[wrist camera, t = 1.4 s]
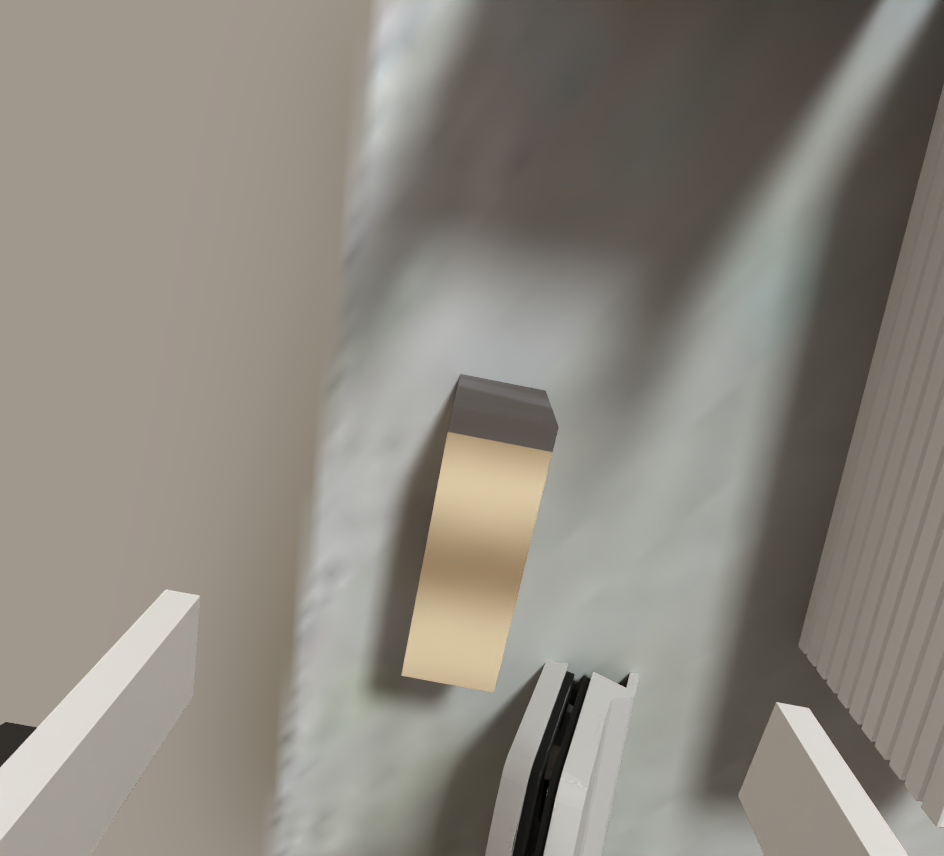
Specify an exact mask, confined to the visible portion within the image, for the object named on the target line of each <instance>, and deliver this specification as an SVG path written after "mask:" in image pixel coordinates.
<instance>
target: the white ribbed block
mask: <svg viewBox="0 0 944 856" xmlns="http://www.w3.org/2000/svg"><path fill="white" fill-rule="evenodd" d="M798 646H799V648H800V649H801V650H802V652H803V653H804V654H807V658H808V660H809V661H810V662H811V663H812V665H813V666H815V667H817V669H816V670H817V671H818V673H819V674H820V675H821V677H822V678H823V679H824V680H827V684H828V686H829V687H830V688H831V690H832V691H833V692H834V694H838V697H837V698H838V699H839V700H840V702H841V703H842V704H843V705H844V707H845V708H846V709H850V711H849V713H850V715H851V716H852V717H853V719H854V720H855V721H856V723H857V724H859V725H862V728H861V729H862V730H863V732H864V733H865V734H866V736H867V737H868V738H869V740H870V741H871V742H876V744H875V747H876V749H877V750H878V751H879V753H880V754H881V755H882V757H883V758H884V759H885V760H890V763H889V766H890V767H891V768H892V770H893V771H894V772H895V774H896V775H897V776H898V778H899V779H900V780H906V782H905V787H906V788H907V789H908V791H909V792H910V793H911V795H912V796H913V797H914V799H915V800H916V801H923V803H922V805H921V808H922V809H923V810H924V812H925V813H926V814H927V816H928V817H929V818H930V820H931V821H932V822H933V824H934V825H935V826H936V827H938V828H944V85H943V89H942V92H941V96H940V100H939V104H938V108H937V112H936V116H935V119H934V123H933V127H932V131H931V135H930V139H929V143H928V146H927V150H926V154H925V158H924V162H923V166H922V170H921V173H920V177H919V181H918V185H917V189H916V193H915V197H914V201H913V204H912V208H911V212H910V216H909V220H908V224H907V228H906V231H905V235H904V239H903V243H902V247H901V251H900V255H899V258H898V262H897V266H896V270H895V274H894V278H893V282H892V285H891V289H890V293H889V297H888V301H887V305H886V309H885V312H884V316H883V320H882V324H881V328H880V332H879V336H878V339H877V343H876V347H875V351H874V355H873V359H872V363H871V366H870V370H869V374H868V378H867V382H866V386H865V390H864V394H863V397H862V401H861V405H860V409H859V413H858V417H857V421H856V424H855V428H854V432H853V436H852V440H851V444H850V448H849V451H848V455H847V459H846V463H845V467H844V471H843V475H842V478H841V482H840V486H839V490H838V494H837V498H836V502H835V505H834V509H833V513H832V517H831V521H830V525H829V529H828V532H827V536H826V540H825V544H824V548H823V552H822V556H821V559H820V563H819V567H818V571H817V575H816V579H815V583H814V586H813V590H812V594H811V598H810V602H809V606H808V610H807V614H806V617H805V621H804V625H803V629H802V633H801V637H800V641H799V644H798Z"/></svg>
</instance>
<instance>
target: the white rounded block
mask: <svg viewBox="0 0 944 856" xmlns="http://www.w3.org/2000/svg"><path fill="white" fill-rule="evenodd" d="M567 670H568V663H562V662H546V663H545V665H544V667H543V670H542V672H541V675H540V677H539V680H538V682H537V685H536V687H535V689H534V692H533V694H532V697H531V699H530V702H529V704H528V707H527V709H526V712H525V714H524V717H523V719H522V721H521V724H520V726H519V729H518V731H517V734H516V736H515V739H514V741H513V744H512V746H511V749H510V751H509V753H508V756H507V759H506V762H505V765H504V768H503V772H502V777H501V781H500V786H499V790H498V795H497V799H496V804H495V808H494V813H493V818H492V823H491V828H490V832H489V838H488V843H487V848H486V854H485V856H602V851H603V847H604V842H605V837H606V832H607V828H608V823H609V818H610V813H611V809H612V804H613V799H614V794H615V789H616V785H617V780H618V775H619V770H620V766H621V761H622V756H623V751H624V747H625V742H626V737H627V732H628V728H629V723H630V718H631V713H632V708H633V704H634V699H635V694H636V689H637V685H638V680H639V675H638V674H634V673H630V674H629V678H628V683H627V687H624V686H622V685H619V684H617V683H615V682H613V681H611V680H609V679H607V678H605V677H603V676H601V675H599V674H597V673H595V672H593V674H592V677H591V679H589V678H586V677H583V678H582V681H581V685H580V688H579V691H578V694H577V697H576V700H575V703H574V706H572V705H571V704H570V703H569V701H570V696H571V690H572V685H573V679H574V674H573V673H570V672H567ZM544 779H547V780H550V783H549V786H548V790H547V794H546V799H545V804H544V809H543V813H541V810H540V802H541V796H542V791H543V785H544Z"/></svg>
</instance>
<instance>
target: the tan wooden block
mask: <svg viewBox="0 0 944 856" xmlns="http://www.w3.org/2000/svg"><path fill="white" fill-rule="evenodd" d="M557 431H558V424H557V422H556V419H555V416H554V413H553V410H552V408H551V405H550V402H549V399H548V396H547V394H546V391H544V390H539V389H534V388H529V387H523V386H518V385H513V384H508V383H503V382H498V381H493V380H488V379H483V378H478V377H473V376H468V375H462V374H461V375H460V379H459V383H458V387H457V391H456V395H455V399H454V403H453V407H452V412H451V417H450V422H449V428H448V433H447V438H446V443H445V449H444V454H443V459H442V464H441V470H440V475H439V480H438V485H437V491H436V496H435V501H434V507H433V512H432V517H431V522H430V528H429V533H428V538H427V543H426V549H425V554H424V559H423V564H422V570H421V575H420V580H419V585H418V591H417V596H416V601H415V606H414V612H413V617H412V622H411V627H410V633H409V638H408V643H407V648H406V654H405V659H404V664H403V669H402V675H401V676H406V677H412V678H417V679H422V680H428V681H433V682H439V683H444V684H449V685H455V686H460V687H466V688H471V689H476V690H482V691H487V692H493V693H494V690H495V686H496V682H497V678H498V674H499V670H500V666H501V662H502V657H503V653H504V649H505V645H506V641H507V637H508V633H509V629H510V625H511V620H512V616H513V612H514V608H515V604H516V600H517V596H518V592H519V587H520V583H521V579H522V575H523V571H524V567H525V563H526V559H527V555H528V550H529V546H530V542H531V538H532V534H533V530H534V526H535V522H536V518H537V513H538V509H539V505H540V501H541V497H542V493H543V489H544V485H545V480H546V476H547V472H548V468H549V464H550V460H551V456H552V452H553V448H554V443H555V439H556V435H557Z"/></svg>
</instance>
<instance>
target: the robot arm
mask: <svg viewBox="0 0 944 856" xmlns="http://www.w3.org/2000/svg"><path fill="white" fill-rule="evenodd" d="M199 605H200V596H199V595H193V594H188V593H183V592H177V591H172V590H165V591H164V592H163V593H162V594H161V595H160V596H159V597H158V598H157V600H155V602H154V603H153V604H152V605H151V606H150V607H149V608H148V609H147V610H146V611H145V612H144V613H143V615H142V616H141V617H140V618H139V619H138V620H137V621H136V622H135V623H134V624H133V626H132V627H130V629H129V630H128V631H127V632H126V633H125V634H124V635H123V636H122V637H121V638H120V639H119V640H118V641H117V642H116V644H115V645H114V646H113V647H112V648H111V649H110V650H109V651H108V652H107V653H106V654H105V655H104V657H103V658H102V659H101V660H100V661H99V662H98V663H97V664H96V665H95V666H94V667H93V668H92V669H91V670H90V671H89V673H88V674H87V675H86V676H85V677H84V678H83V679H82V680H81V681H80V683H78V684H77V685H76V687H75V688H74V689H73V690H72V691H71V692H70V693H69V694H68V695H67V696H66V697H65V699H63V701H62V702H61V703H60V704H59V705H58V706H57V707H56V708H55V709H54V710H53V711H52V712H51V714H50V715H49V716H48V717H47V718H46V719H45V720H44V721H43V722H42V723H41V724H40V726H38V728H36V727H31V726H25V725H20V724H14V723H8V722H5V723H4V724H2V725H0V856H90V854H91V852H92V851H93V849H94V848H95V846H96V845H97V843H98V842H99V840H100V839H101V837H102V836H103V834H104V833H105V831H106V829H107V828H108V827H109V825H110V823H111V822H112V820H113V819H114V817H115V816H116V814H117V813H118V811H119V810H120V808H121V807H122V805H123V804H124V802H125V800H126V799H127V797H128V796H129V794H130V793H131V791H132V790H133V788H134V787H135V785H136V784H137V782H138V781H139V779H140V777H141V776H142V774H143V773H144V771H145V770H146V768H147V767H148V765H149V764H150V762H151V761H152V759H153V758H154V756H155V754H156V753H157V751H158V750H159V748H160V747H161V745H162V744H163V742H164V741H165V739H166V738H167V736H168V734H169V733H170V731H171V730H172V728H173V727H174V725H175V724H176V722H177V720H178V719H179V718H180V716H181V715H182V713H183V712H184V710H185V708H186V707H187V705H188V704H189V702H190V701H191V699H192V698H193V689H194V674H195V661H196V647H197V634H198V620H199ZM738 797H739V799H740V801H741V803H742V806H743V808H744V810H745V813H746V815H747V817H748V819H749V822H750V824H751V826H752V828H753V831H754V833H755V835H756V837H757V840H758V842H759V844H760V847H761V849H762V851H763V853H764V856H908V854H907V853H906V852H905V850H904V849H903V847H902V846H901V844H900V843H899V841H898V840H897V838H896V837H895V835H894V834H893V832H892V831H891V829H890V828H889V826H888V825H887V823H886V822H885V820H884V819H883V817H882V816H881V814H880V813H879V811H878V810H877V808H876V807H875V805H874V804H873V803H872V801H871V800H870V798H869V797H868V795H867V794H866V792H865V791H864V789H863V788H862V786H861V785H860V783H859V782H858V780H857V779H856V777H855V776H854V774H853V773H852V771H851V770H850V768H849V767H848V765H847V764H846V762H845V761H844V759H843V758H842V756H841V755H840V754H839V752H838V751H837V749H836V748H835V746H834V745H833V743H832V742H831V740H830V739H829V737H828V736H827V734H826V733H825V731H824V730H823V728H822V727H821V725H820V724H819V722H818V721H817V719H816V718H815V716H814V715H813V713H812V712H811V710H810V709H809V708H806V707H800V706H795V705H789V704H784V703H778V702H776V704H775V706H774V709H773V711H772V714H771V716H770V718H769V721H768V723H767V726H766V728H765V731H764V733H763V736H762V738H761V740H760V743H759V745H758V748H757V750H756V753H755V755H754V758H753V760H752V762H751V765H750V767H749V770H748V772H747V775H746V777H745V780H744V782H743V784H742V787H741V789H740V792H739V794H738Z"/></svg>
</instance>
